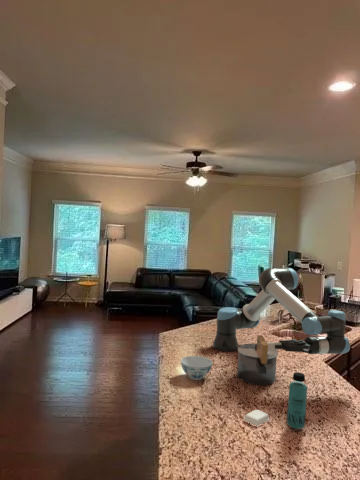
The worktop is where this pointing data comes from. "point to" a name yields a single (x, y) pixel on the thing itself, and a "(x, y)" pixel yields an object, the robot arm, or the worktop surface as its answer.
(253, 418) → the soap
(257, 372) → the pot
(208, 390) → the worktop surface
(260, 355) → the lid
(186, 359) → the chinaware
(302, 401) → the beverage bottle
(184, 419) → the worktop surface
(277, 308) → the worktop surface
